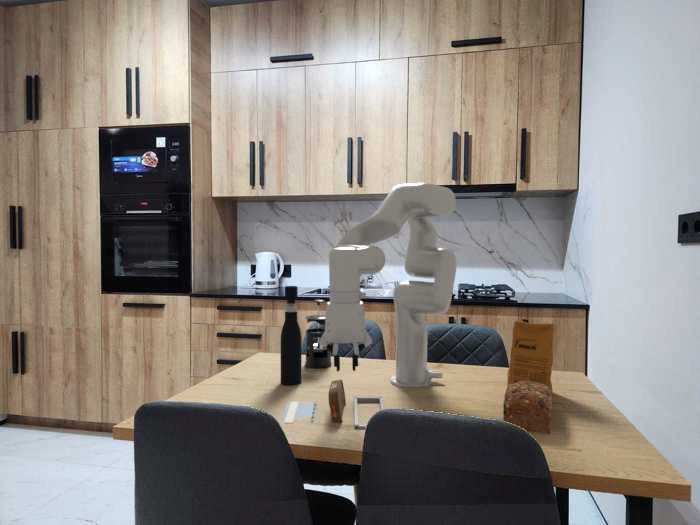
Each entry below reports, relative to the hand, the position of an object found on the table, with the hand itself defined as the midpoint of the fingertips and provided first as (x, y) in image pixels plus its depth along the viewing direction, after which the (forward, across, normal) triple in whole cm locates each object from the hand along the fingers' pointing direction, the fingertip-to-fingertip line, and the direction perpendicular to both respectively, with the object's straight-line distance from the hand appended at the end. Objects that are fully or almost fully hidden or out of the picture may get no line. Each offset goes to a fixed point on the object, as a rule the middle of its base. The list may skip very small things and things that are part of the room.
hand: (346, 368), depth 119 cm
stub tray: (+12, -6, +2) cm, 14 cm away
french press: (+14, +10, -48) cm, 51 cm away
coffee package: (+14, -52, -14) cm, 56 cm away
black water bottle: (+13, +17, -26) cm, 34 cm away
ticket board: (+12, +12, +1) cm, 17 cm away
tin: (+12, +2, +1) cm, 13 cm away
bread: (+14, -44, +6) cm, 46 cm away
